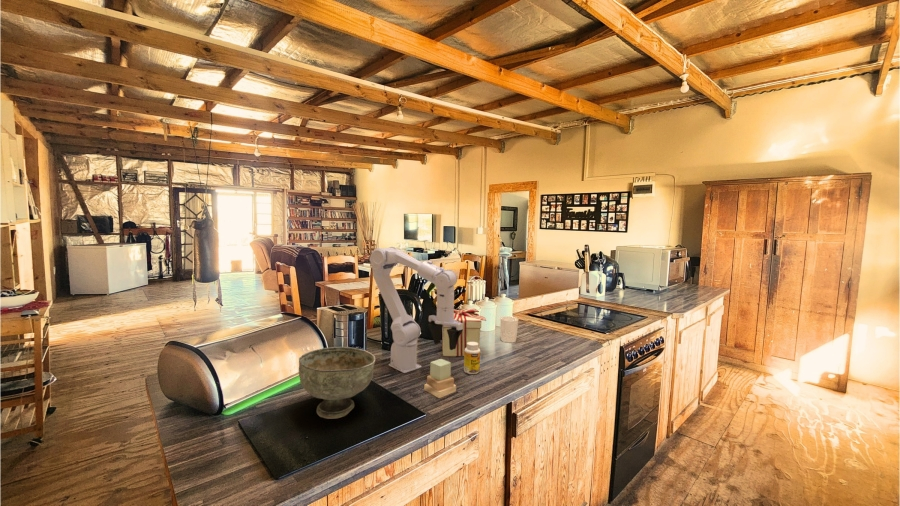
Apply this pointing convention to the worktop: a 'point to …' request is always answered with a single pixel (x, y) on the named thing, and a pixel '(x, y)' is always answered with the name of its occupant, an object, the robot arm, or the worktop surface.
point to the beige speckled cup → (508, 329)
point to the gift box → (468, 334)
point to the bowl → (336, 377)
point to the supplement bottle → (472, 358)
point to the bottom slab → (439, 393)
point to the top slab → (440, 383)
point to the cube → (440, 369)
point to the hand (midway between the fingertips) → (444, 346)
